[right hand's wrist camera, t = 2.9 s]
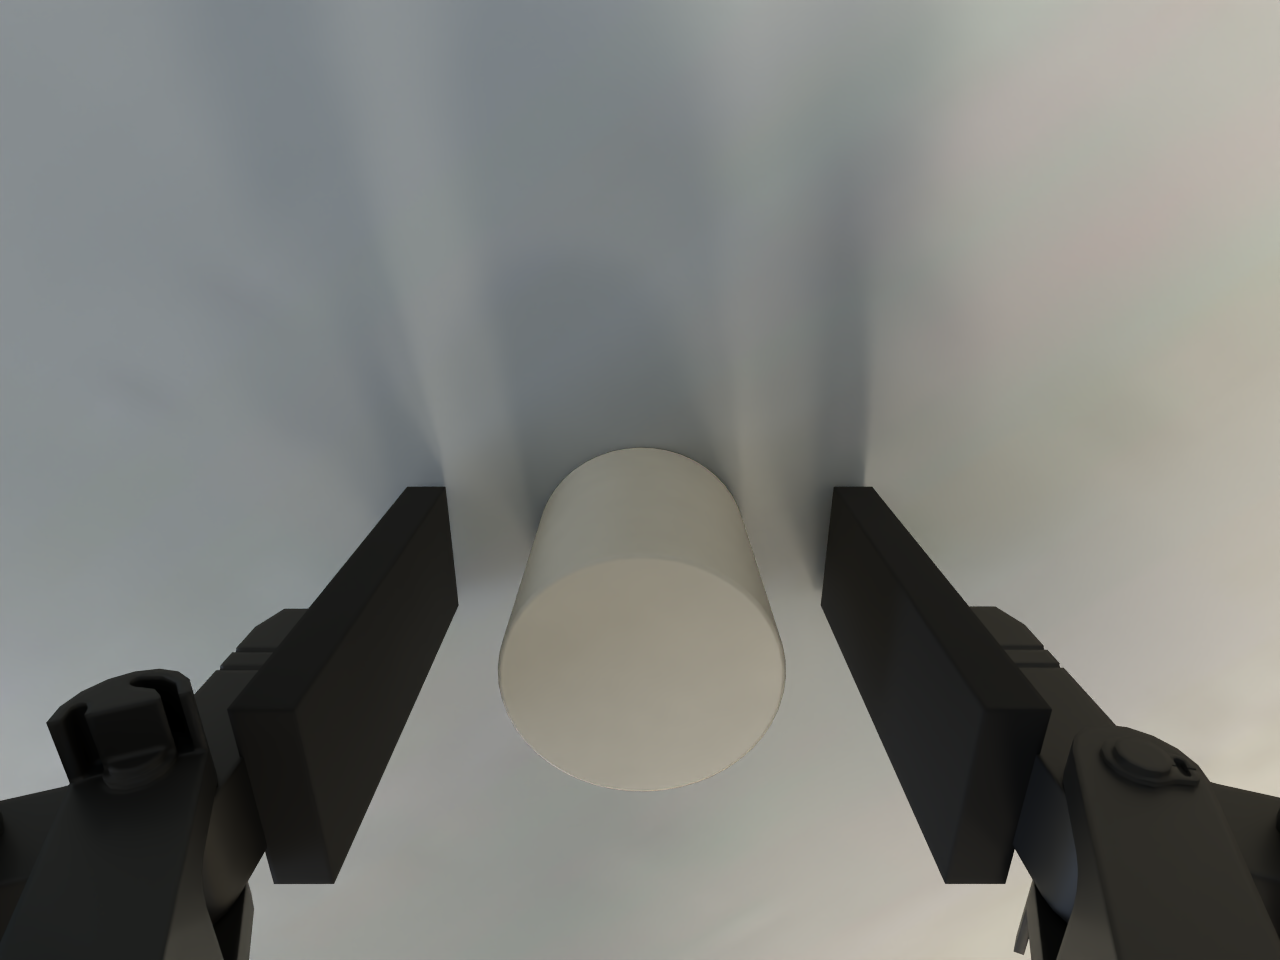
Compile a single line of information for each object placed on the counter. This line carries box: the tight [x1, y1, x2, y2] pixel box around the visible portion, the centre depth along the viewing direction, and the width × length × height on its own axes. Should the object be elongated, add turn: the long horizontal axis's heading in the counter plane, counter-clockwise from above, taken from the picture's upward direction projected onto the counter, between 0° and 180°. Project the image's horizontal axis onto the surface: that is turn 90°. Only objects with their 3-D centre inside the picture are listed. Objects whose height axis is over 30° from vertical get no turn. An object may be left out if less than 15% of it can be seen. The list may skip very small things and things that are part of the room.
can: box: [498, 448, 786, 791], centre depth 12 cm, size 4×4×4 cm
